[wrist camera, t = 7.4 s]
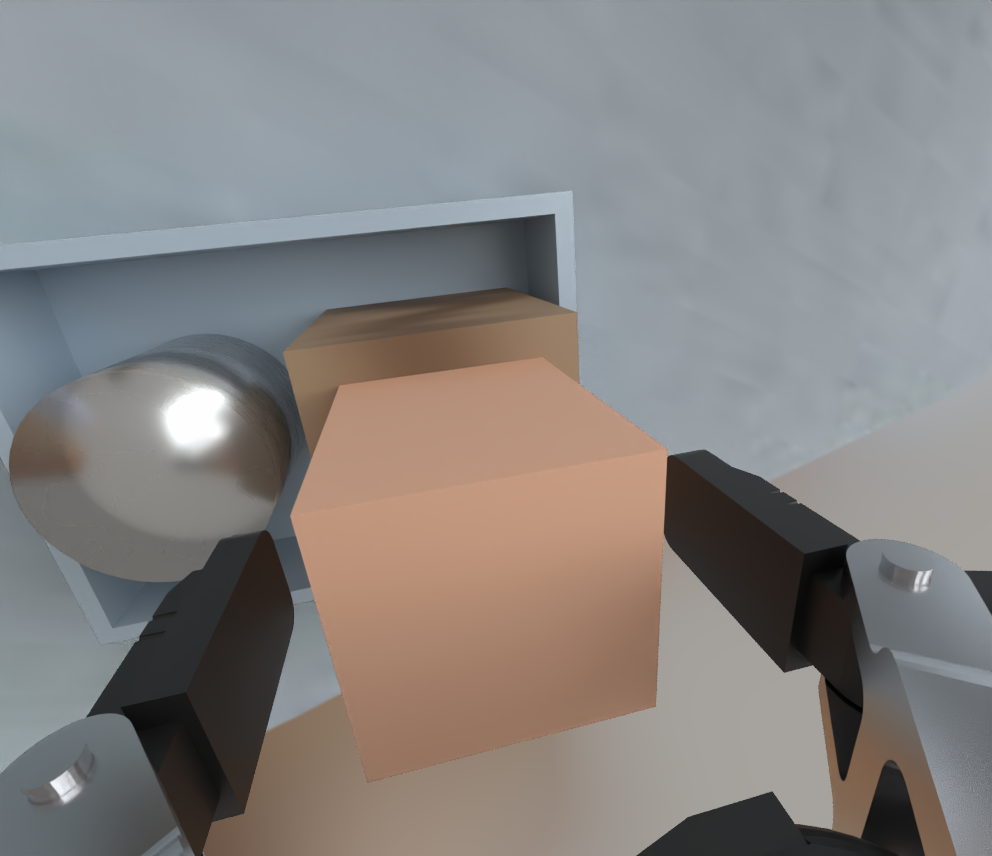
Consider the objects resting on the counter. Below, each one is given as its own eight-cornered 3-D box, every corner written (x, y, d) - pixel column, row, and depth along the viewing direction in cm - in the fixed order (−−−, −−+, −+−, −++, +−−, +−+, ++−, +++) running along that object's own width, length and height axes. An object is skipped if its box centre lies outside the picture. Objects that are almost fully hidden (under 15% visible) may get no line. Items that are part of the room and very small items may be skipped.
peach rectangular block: (542, 357, 12) (667, 449, 7) (551, 525, 14) (655, 706, 8) (339, 385, 11) (289, 515, 6) (377, 559, 13) (367, 782, 8)
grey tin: (284, 322, 18) (237, 355, 13) (324, 473, 20) (299, 557, 15) (97, 346, 17) (-42, 393, 12) (162, 502, 19) (71, 602, 14)
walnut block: (506, 287, 19) (577, 312, 12) (520, 446, 22) (585, 547, 14) (326, 309, 18) (282, 351, 11) (363, 473, 21) (348, 597, 13)
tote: (533, 202, 19) (572, 190, 15) (551, 491, 24) (585, 543, 20) (19, 252, 16) (-108, 254, 12) (157, 567, 21) (100, 645, 17)
